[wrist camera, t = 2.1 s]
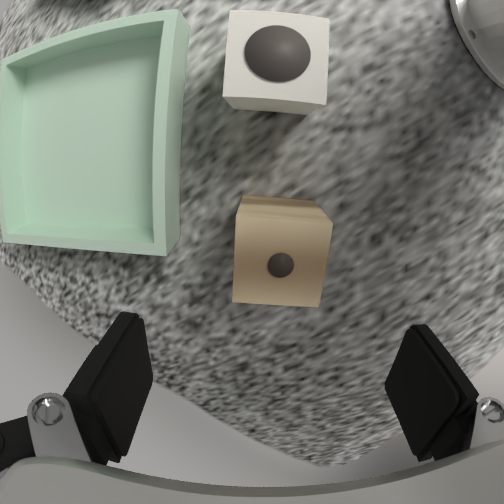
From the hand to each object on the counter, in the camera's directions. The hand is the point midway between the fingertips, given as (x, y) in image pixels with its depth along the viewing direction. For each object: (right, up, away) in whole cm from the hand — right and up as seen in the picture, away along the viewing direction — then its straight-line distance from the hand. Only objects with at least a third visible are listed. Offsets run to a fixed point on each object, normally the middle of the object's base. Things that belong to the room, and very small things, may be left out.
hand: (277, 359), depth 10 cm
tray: (-14, +13, +9) cm, 21 cm away
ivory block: (0, +15, +8) cm, 17 cm away
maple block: (+1, +5, +12) cm, 13 cm away
